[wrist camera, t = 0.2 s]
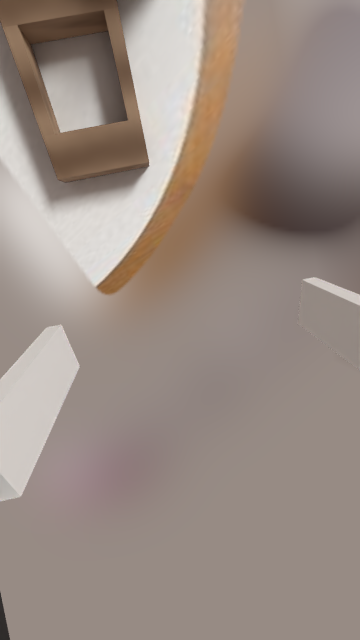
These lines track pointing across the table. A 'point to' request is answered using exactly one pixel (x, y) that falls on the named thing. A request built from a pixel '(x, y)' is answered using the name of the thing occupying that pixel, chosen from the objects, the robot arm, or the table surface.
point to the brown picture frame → (63, 148)
